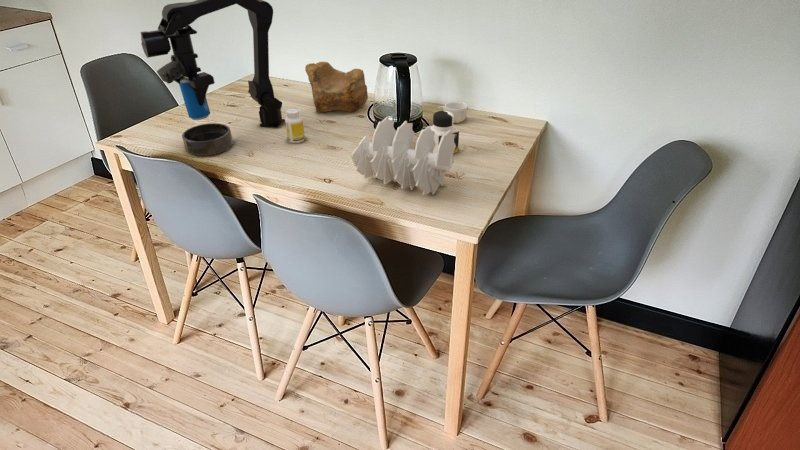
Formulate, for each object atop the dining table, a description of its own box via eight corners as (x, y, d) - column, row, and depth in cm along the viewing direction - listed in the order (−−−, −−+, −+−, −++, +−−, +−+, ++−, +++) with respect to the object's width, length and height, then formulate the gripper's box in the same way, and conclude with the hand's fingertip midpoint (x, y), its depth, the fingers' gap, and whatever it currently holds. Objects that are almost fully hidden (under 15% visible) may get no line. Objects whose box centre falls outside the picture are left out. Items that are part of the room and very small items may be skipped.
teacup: (469, 118, 184) (470, 103, 181) (463, 126, 178) (464, 111, 175) (442, 114, 187) (442, 99, 184) (434, 122, 181) (435, 107, 178)
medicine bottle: (438, 157, 159) (439, 119, 152) (426, 148, 164) (426, 111, 157) (458, 152, 161) (460, 114, 155) (446, 143, 167) (447, 106, 160)
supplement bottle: (308, 138, 172) (304, 109, 166) (298, 144, 167) (294, 115, 162) (294, 135, 173) (290, 106, 168) (284, 141, 169) (280, 112, 164)
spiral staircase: (377, 180, 155) (456, 196, 145) (344, 181, 140) (430, 199, 129) (386, 117, 152) (468, 129, 142) (353, 111, 137) (442, 123, 126)
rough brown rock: (293, 114, 191) (286, 74, 181) (315, 95, 203) (310, 56, 193) (351, 125, 184) (348, 84, 174) (371, 104, 196) (369, 65, 186)
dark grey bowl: (240, 139, 171) (238, 124, 169) (219, 159, 160) (216, 143, 157) (200, 136, 174) (197, 121, 171) (176, 155, 162) (172, 140, 160)
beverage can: (203, 121, 163) (193, 82, 156) (185, 120, 164) (173, 82, 158) (214, 113, 168) (204, 75, 162) (196, 113, 170) (185, 75, 163)
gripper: (142, 51, 155) (156, 102, 164) (172, 63, 145) (186, 118, 153) (177, 43, 162) (189, 93, 171) (209, 54, 151) (220, 107, 160)
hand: (195, 102), depth 164 cm, fingers closed on beverage can, 6 cm apart
